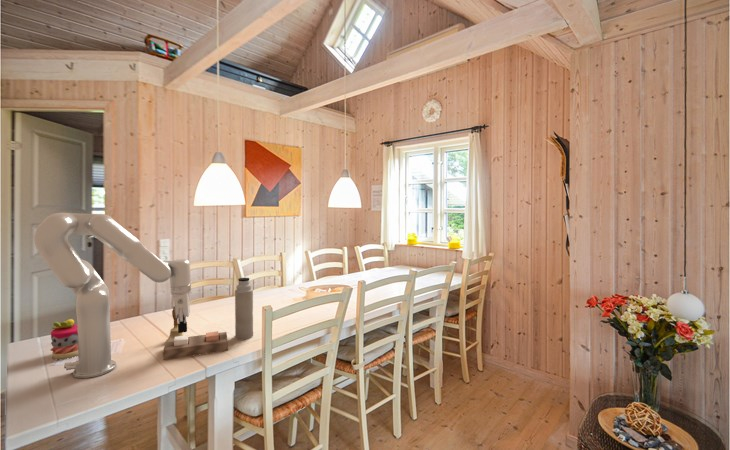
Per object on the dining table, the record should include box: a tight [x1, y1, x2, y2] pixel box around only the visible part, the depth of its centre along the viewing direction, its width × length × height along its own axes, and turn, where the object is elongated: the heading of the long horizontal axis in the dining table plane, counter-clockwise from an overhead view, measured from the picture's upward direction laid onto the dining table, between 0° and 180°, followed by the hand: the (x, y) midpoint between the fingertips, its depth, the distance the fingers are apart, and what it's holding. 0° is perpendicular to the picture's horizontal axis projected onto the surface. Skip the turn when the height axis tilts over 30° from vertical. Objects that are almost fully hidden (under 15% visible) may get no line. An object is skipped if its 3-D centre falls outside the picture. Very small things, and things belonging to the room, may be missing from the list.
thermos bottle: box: [234, 277, 254, 340], centre depth 163 cm, size 8×8×28 cm
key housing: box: [162, 331, 229, 361], centre depth 148 cm, size 24×12×4 cm, turn 115°
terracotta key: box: [205, 330, 219, 342], centre depth 150 cm, size 5×5×3 cm
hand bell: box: [166, 305, 185, 340], centre depth 157 cm, size 8×8×16 cm
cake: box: [50, 318, 78, 360], centre depth 141 cm, size 10×10×15 cm
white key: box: [174, 334, 189, 346], centre depth 145 cm, size 5×5×3 cm
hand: (182, 331), depth 145 cm, fingers closed
